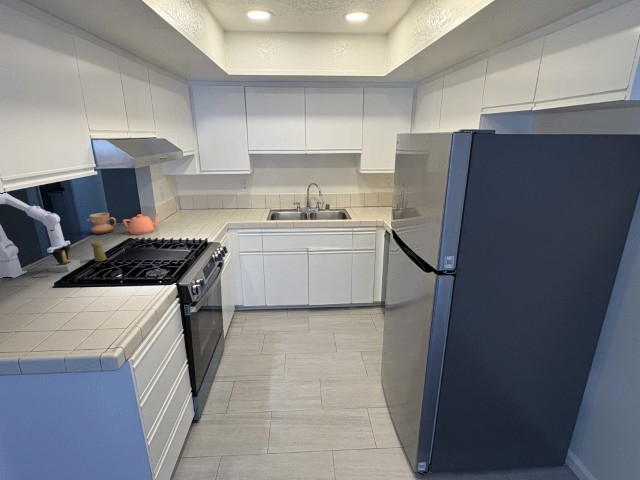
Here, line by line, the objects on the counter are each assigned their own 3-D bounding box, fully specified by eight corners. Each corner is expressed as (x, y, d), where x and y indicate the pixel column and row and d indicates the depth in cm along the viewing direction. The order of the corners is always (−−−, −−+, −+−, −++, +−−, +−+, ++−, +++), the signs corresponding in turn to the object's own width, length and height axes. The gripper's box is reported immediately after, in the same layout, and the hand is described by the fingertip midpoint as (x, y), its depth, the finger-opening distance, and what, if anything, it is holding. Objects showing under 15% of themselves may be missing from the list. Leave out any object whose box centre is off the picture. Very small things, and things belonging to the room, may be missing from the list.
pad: (32, 277, 169) (32, 276, 169) (44, 271, 177) (43, 270, 177) (48, 276, 170) (48, 276, 170) (59, 270, 177) (59, 270, 177)
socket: (49, 272, 175) (47, 267, 174) (62, 265, 185) (60, 260, 184) (68, 271, 176) (67, 266, 175) (80, 264, 185) (79, 259, 184)
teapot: (163, 227, 260) (160, 210, 256) (161, 232, 244) (157, 215, 240) (127, 231, 252) (124, 214, 248) (122, 237, 237) (118, 218, 233)
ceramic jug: (87, 236, 241) (83, 217, 237) (93, 231, 254) (88, 213, 250) (115, 234, 247) (112, 215, 243) (119, 229, 260) (116, 211, 256)
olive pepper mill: (104, 257, 196) (100, 239, 193) (108, 259, 193) (104, 241, 189) (92, 260, 192) (88, 242, 189) (96, 262, 188) (92, 243, 185)
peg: (58, 266, 178) (54, 252, 175) (62, 264, 181) (59, 250, 179) (65, 266, 178) (62, 252, 176) (69, 264, 182) (66, 250, 179)
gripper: (54, 240, 168) (61, 265, 172) (73, 232, 182) (79, 256, 186) (40, 241, 168) (47, 266, 172) (59, 233, 182) (66, 256, 186)
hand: (63, 261), depth 179 cm, fingers closed on peg, 3 cm apart
